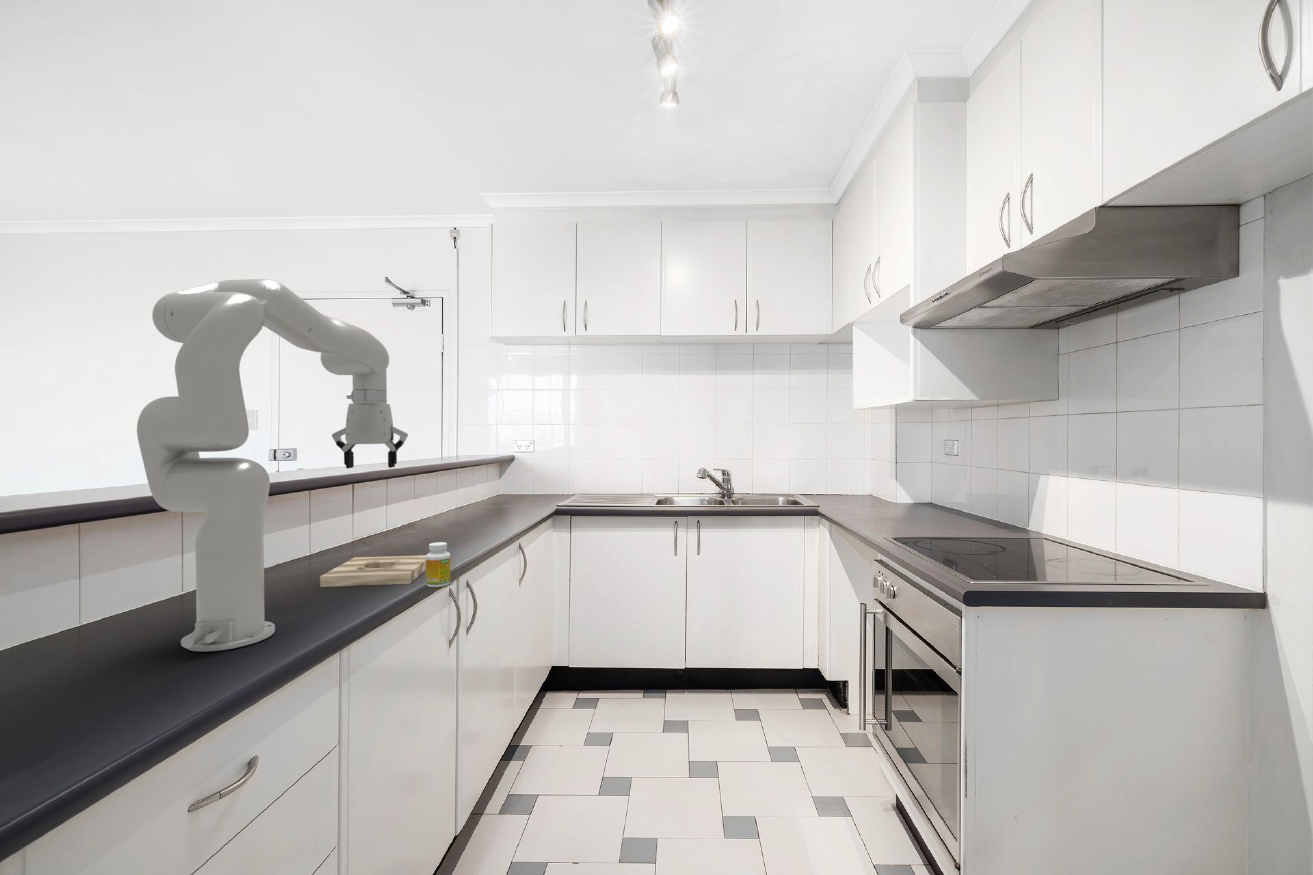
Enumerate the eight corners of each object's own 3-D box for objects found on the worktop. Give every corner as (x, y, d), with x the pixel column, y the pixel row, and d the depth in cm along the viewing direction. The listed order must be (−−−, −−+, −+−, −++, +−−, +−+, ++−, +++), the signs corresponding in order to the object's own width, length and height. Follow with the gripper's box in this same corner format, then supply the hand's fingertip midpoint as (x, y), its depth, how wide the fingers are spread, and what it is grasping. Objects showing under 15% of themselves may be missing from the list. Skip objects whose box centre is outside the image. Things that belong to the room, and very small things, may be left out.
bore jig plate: (409, 583, 136) (409, 573, 136) (320, 586, 133) (320, 576, 133) (431, 564, 156) (431, 555, 156) (354, 566, 153) (354, 557, 153)
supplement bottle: (442, 588, 132) (441, 546, 132) (421, 587, 133) (420, 545, 133) (455, 582, 137) (454, 541, 137) (434, 581, 138) (434, 541, 138)
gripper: (325, 397, 136) (326, 469, 136) (402, 397, 139) (403, 468, 139) (338, 399, 143) (339, 467, 144) (410, 399, 146) (411, 466, 146)
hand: (370, 467), depth 141 cm, fingers open, 9 cm apart
